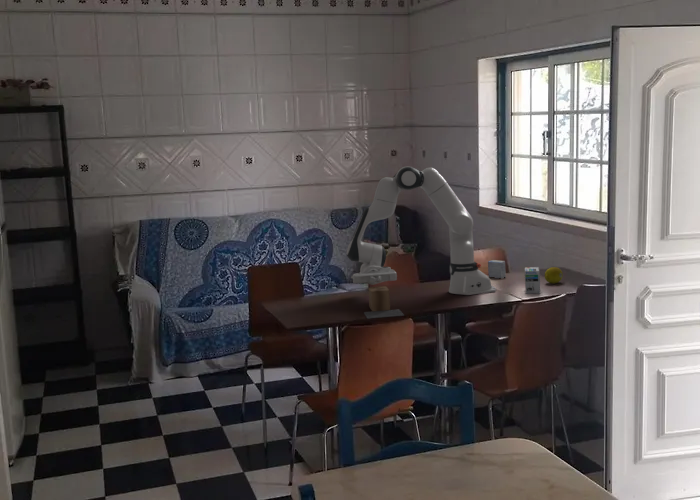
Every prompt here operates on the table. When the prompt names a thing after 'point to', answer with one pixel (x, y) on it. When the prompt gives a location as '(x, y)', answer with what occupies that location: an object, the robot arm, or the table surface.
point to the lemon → (553, 275)
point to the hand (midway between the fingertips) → (376, 280)
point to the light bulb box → (532, 280)
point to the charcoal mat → (383, 313)
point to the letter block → (379, 298)
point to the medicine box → (496, 269)
